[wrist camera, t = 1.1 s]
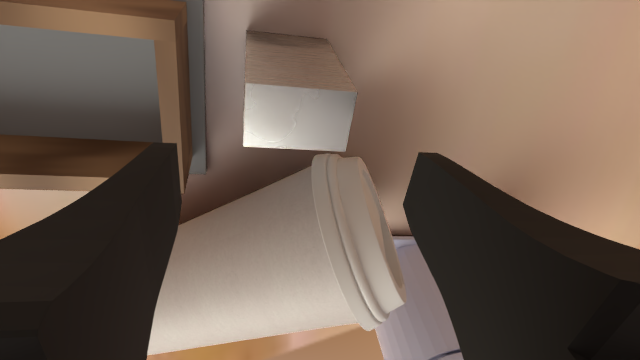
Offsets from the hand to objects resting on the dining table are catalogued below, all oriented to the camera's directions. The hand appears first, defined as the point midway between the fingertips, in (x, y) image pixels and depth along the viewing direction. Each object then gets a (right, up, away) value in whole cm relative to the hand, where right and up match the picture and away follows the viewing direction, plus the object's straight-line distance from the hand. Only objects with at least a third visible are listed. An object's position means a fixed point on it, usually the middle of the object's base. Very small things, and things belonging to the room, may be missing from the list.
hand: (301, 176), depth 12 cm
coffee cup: (-10, -7, +12) cm, 17 cm away
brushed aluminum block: (-1, +5, +9) cm, 11 cm away
